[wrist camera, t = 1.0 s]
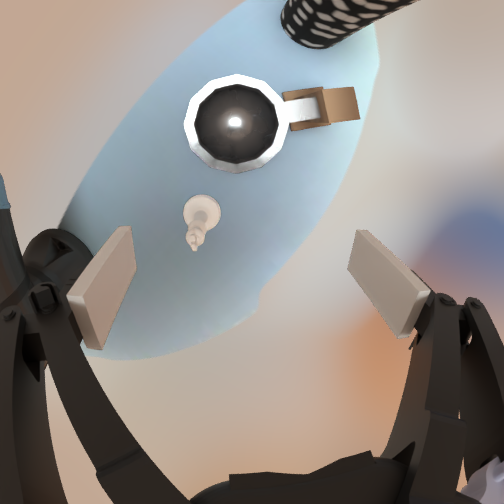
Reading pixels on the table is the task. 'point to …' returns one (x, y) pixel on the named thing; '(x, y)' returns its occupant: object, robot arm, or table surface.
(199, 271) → the table surface
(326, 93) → the walnut post
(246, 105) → the cup bracket
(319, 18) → the white-spotted black cylinder
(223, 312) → the table surface
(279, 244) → the table surface
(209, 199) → the chess piece
